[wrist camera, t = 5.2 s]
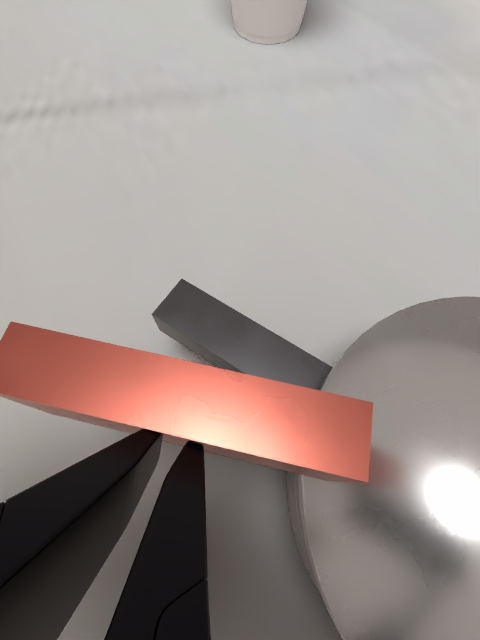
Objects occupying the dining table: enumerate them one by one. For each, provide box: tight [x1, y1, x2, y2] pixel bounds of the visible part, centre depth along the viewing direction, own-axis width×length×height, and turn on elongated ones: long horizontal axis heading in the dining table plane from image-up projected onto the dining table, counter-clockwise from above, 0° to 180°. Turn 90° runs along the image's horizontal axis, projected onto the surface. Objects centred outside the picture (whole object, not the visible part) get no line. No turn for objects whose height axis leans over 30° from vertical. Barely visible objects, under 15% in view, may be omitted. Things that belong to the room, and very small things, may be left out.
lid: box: [0, 297, 480, 640], centre depth 10 cm, size 23×15×5 cm, turn 77°
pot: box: [152, 279, 333, 598], centre depth 15 cm, size 24×14×5 cm, turn 57°
